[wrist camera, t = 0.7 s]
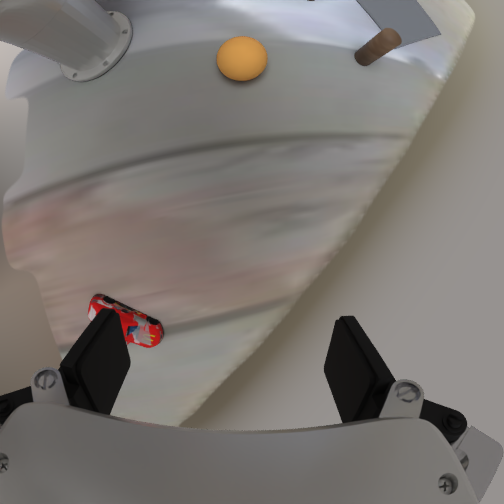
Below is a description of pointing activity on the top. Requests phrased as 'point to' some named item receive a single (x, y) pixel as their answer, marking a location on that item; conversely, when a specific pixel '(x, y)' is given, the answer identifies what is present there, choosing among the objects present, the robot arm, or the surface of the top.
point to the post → (378, 46)
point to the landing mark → (401, 18)
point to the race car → (130, 322)
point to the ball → (242, 58)
